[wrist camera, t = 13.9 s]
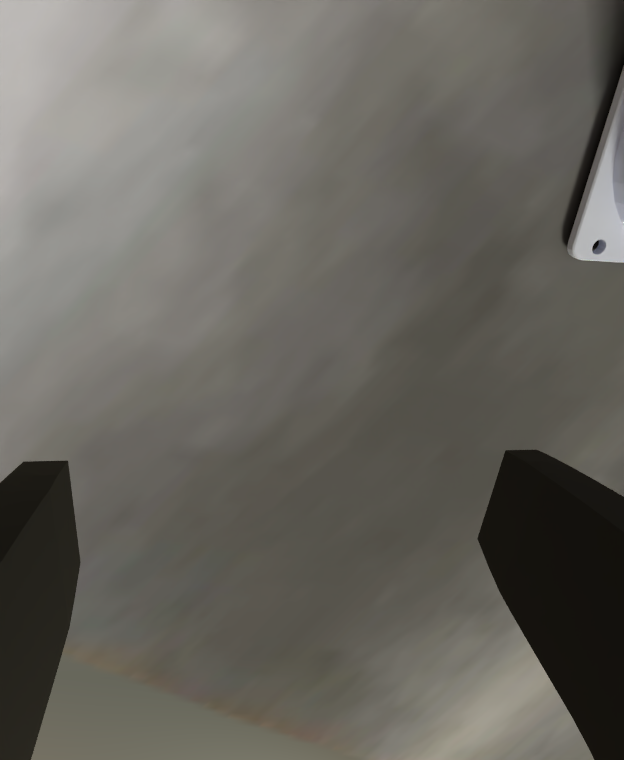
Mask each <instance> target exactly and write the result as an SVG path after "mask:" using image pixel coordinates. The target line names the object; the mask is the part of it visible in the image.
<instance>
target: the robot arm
mask: <svg viewBox="0 0 624 760" xmlns="http://www.w3.org/2000/svg"><path fill="white" fill-rule="evenodd" d="M598 240H599V245H598V246H597V248H596V249H595V250H594V251H592V246H593V245H594V243H595V242H596V241H598ZM567 250H568V253H569V254H570V255H571V256H572V257H574V258H576V259H579V260H588V261H605V262H622V263H624V67H623V70H622V73H621V76H620V79H619V83H618V86H617V89H616V92H615V95H614V98H613V102H612V105H611V108H610V111H609V114H608V117H607V121H606V124H605V127H604V130H603V133H602V136H601V140H600V143H599V146H598V149H597V152H596V156H595V159H594V162H593V165H592V168H591V171H590V175H589V178H588V181H587V184H586V187H585V190H584V194H583V197H582V200H581V203H580V206H579V209H578V213H577V216H576V219H575V222H574V225H573V228H572V232H571V235H570V238H569V241H568V246H567ZM478 541H479V543H480V546H481V548H482V551H483V554H484V556H485V559H486V561H487V564H488V566H489V569H490V571H491V573H492V575H493V578H494V580H495V582H496V585H497V587H498V589H499V591H500V593H501V595H502V597H503V599H504V600H505V602H506V604H507V606H508V608H509V609H510V611H511V613H512V615H513V616H514V618H515V620H516V622H517V623H518V625H519V627H520V629H521V630H522V632H523V634H524V636H525V637H526V639H527V641H528V642H529V644H530V646H531V648H532V649H533V651H534V653H535V654H536V656H537V658H538V659H539V661H540V663H541V665H542V666H543V668H544V670H545V671H546V673H547V675H548V677H549V678H550V680H551V682H552V683H553V685H554V687H555V689H556V690H557V692H558V694H559V695H560V697H561V699H562V701H563V702H564V704H565V706H566V707H567V709H568V711H569V712H570V714H571V716H572V718H573V719H574V721H575V723H576V725H577V727H578V729H579V731H580V733H581V734H582V736H583V738H584V740H585V742H586V744H587V746H588V747H589V749H590V751H591V753H592V756H593V758H594V760H624V497H623V496H621V495H619V494H618V493H616V492H614V491H613V490H611V489H609V488H607V487H606V486H604V485H602V484H600V483H599V482H597V481H595V480H593V479H592V478H590V477H588V476H586V475H585V474H583V473H581V472H579V471H577V470H576V469H574V468H572V467H570V466H568V465H566V464H565V463H563V462H561V461H559V460H557V459H555V458H553V457H551V456H549V455H547V454H545V453H543V452H540V451H538V450H506V451H505V454H504V457H503V460H502V463H501V467H500V470H499V473H498V476H497V479H496V482H495V485H494V489H493V492H492V495H491V498H490V501H489V504H488V507H487V511H486V514H485V517H484V520H483V523H482V526H481V529H480V533H479V536H478ZM79 567H80V556H79V548H78V539H77V531H76V523H75V515H74V507H73V499H72V490H71V482H70V474H69V466H68V461H35V462H23V463H22V464H20V465H19V466H18V467H17V468H16V469H15V470H14V471H13V472H12V473H10V474H9V475H8V476H7V477H6V478H5V479H4V480H3V481H2V482H1V483H0V760H31V757H32V754H33V751H34V747H35V744H36V740H37V737H38V733H39V730H40V727H41V723H42V720H43V716H44V713H45V710H46V706H47V703H48V700H49V696H50V693H51V689H52V686H53V683H54V679H55V675H56V672H57V669H58V665H59V662H60V658H61V655H62V651H63V648H64V645H65V641H66V637H67V634H68V630H69V626H70V621H71V615H72V610H73V604H74V598H75V592H76V586H77V580H78V574H79Z"/></svg>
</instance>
